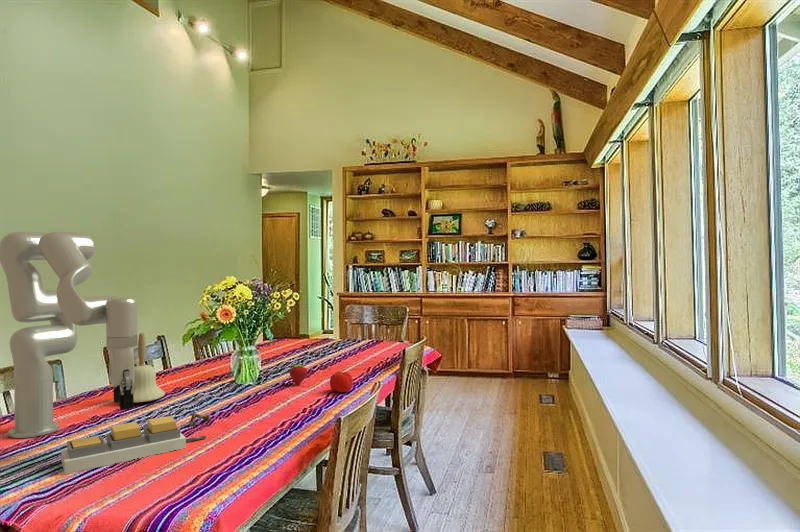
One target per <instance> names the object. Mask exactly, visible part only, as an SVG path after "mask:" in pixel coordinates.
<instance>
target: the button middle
mask: <svg viewBox="0 0 800 532" xmlns="http://www.w3.org/2000/svg"><path fill="white" fill-rule="evenodd" d="M140 431H141V426H140V425H139V424H138V423H137V422H136V421H132V422H127V423H121V424H116V425H115V424H114V425H111V426H110V434H111V435H112V437H113V438H114V440H120V439H125V438H131V437H136V436H140Z"/></svg>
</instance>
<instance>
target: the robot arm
mask: <svg viewBox="0 0 800 532" xmlns="http://www.w3.org/2000/svg"><path fill="white" fill-rule="evenodd" d="M95 253H96V244H95V242H94V239H92V237H91V236H89V235H88V234H86V233H83V232H71V231H69V232H68V231H51V232H38V231H37V232H36V231H16V232H10V233H8V234H6V235H4V237H3V238H2V239H1V241H0V265H1V267H2V270H3V272H4V275H5V278H6V281H7V288H8V297H9V302H10V310H11V313H12V316H13V318H14V320H15V321H17V322H18V323H37V322H46V321H49V323H50V324H46V325H45V324H44V325H35V326H34V325H33V326H28V327H24V328H20V329H18V330H15V332H13V334H12V335H11V337H10V339H9V348H10V349H9V350H10V352H11V353H10V354H11V358H12V362H13V363H12V364H13V377H14V378H13V380H14V381H13V382H14V385H13V386H14V387H13V388H14V389H13V392H14V395H13V396H14V397H13V398H14V405H13V406H14V413H13V414H14V427H12V428H10V429H9V430H8V432H7V436H8V437H9V438H14V439H27V438H29V439H30V438H36V437H40V436H46V435H48V434H51V433H54V432H56V431H58V430H59V429H60V423H59V422H57V421H54V371H53V368H52V367H51V364H49V363H48V361H47V359H46V358H47V357H51V356H57V355H62V354H67V353H70V352H71V351H73V350H74V349H75V348H76V346H77V343H78V332H77V326H79V327H83V326H92V325H99V324H100V325H101V324H105V334H106V350H107V351H109V371H108V374H109V376H108V380H109V384H110V385H112V386H113V389H112V390H113V403H114V404H116V403H119V410H120V411H125V410H130V409H134V407H135V404H134V403H135V402H134V397H133V388H132V385H133V384H134V378H135V371H134V367H135V353H134V352H135V349H136V348H138V340H139V335H138V304H137V299H135V298H134V297H131V296H130V297H129V296H122V297H121V296H120V297H119V296H116V295H115V296H114V295H106V296H89V297H82V296H81V295H80V293H78V291H77V290H76V288H75V287H77V286H78V285H81V284H82V283H83V282H85V281H87V280H88V279H89V277H91V275H92V272H93V268H92V266H91V264H90V262H89V261H88V260H90V259H92V258H93V257H94V255H95ZM30 261H46V262H47V263H48V264H49V266H50V267H51V269H52V270H53V272H54V273H55V275H56V276H57V278H58V279H59V281H58V283H57V285H56V289H45V288H44V285H43V278H42V275H41V273H40V272H39V270H38V269H37V268H36V267H35V265H34V264H32V263H31V262H30Z"/></svg>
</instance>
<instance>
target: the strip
mask: <svg viewBox="0 0 800 532" xmlns="http://www.w3.org/2000/svg"><path fill="white" fill-rule="evenodd" d="M97 436H98V437H99V439H100V441H101V444H98V445H92V446H87V447H81V448H76V449H72V448H71V440H68V441H67V440H66V448H62V449H61V450H60V451H61V452H60V458H61V460H60V461H61V466H62V468H63V472H64V475H66V474H67V475H68V474H71V473H72V474H73V473H77V472H82V471H86V470H91V469H95V468H101V467H106V466H110V465H115V463H116V464H120V463H125V462H129V460H130V461H134V460H133V459H135V460H138V459H137V458H139V459H143V458H142V457H144V458H147V457H146V456H149V455H154V454H159V455H161V454H160V453H163V454H165V453H164V452H168V453H170V452H169V451H173V450H178V449H182V450H184V449H183V448H186V449H187V443H191V442H190V441H192V442H196V441H195V440H197V441H201V440H200V439H202V440H205V438H206V439H207V435H206V434H205V435H199V436H194V437H189V438H187V437H186V436H185V435H184V434H183V433H181V428H180V427H178V426H177V425H176V429H174V430H169V431H163V432H158V433H152V432H151V431H150V430H149V429H148V426H147V427H143V432H142V431H141V430H140V436H136V437H131V438H125V439H120V440H114V438H113V437H112V435H111V433H108V434H106V441H105V440H104V438H103V436H102V435H97ZM186 442H187V443H186ZM178 451H179V450H178ZM173 452H174V451H173ZM154 456H155V455H154ZM149 457H150V456H149Z"/></svg>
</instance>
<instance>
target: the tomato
mask: <svg viewBox="0 0 800 532" xmlns="http://www.w3.org/2000/svg"><path fill="white" fill-rule="evenodd" d="M353 381H354V380H353V376H352V375H351V373H350V372H348V371H336V372H335V373H333V374H331V376H330V379H329V387H330V389H331V390H332V391H333V392H335V393H340V394H342V392H343V393H348V392H350V391H351V390H352V389H353V385H354V384H353V383H354V382H353Z"/></svg>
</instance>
